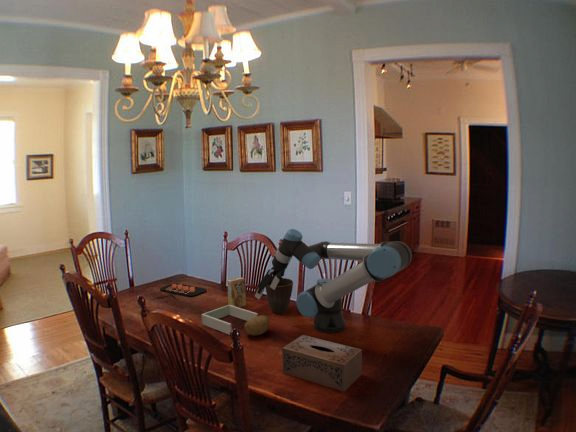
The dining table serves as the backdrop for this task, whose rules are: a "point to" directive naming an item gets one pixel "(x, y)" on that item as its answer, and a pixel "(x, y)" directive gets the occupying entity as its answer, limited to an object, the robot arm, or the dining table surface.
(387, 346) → the dining table surface
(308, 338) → the tissue box cover
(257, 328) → the potato
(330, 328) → the robot arm
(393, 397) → the dining table surface
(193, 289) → the sushi plate
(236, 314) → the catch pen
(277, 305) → the plant pot
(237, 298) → the candy box
